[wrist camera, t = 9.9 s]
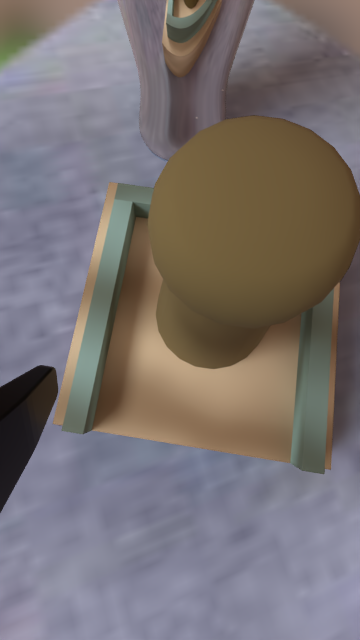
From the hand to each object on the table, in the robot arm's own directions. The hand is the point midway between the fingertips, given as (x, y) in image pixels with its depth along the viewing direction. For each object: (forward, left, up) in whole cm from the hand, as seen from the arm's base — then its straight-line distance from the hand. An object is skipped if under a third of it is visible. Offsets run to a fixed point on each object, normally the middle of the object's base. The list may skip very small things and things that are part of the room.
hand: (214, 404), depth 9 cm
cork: (+3, +3, -8) cm, 9 cm away
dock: (+3, +3, -10) cm, 11 cm away
